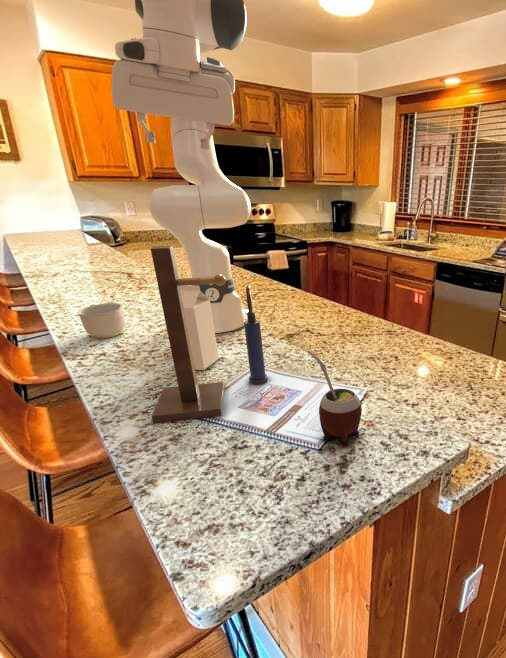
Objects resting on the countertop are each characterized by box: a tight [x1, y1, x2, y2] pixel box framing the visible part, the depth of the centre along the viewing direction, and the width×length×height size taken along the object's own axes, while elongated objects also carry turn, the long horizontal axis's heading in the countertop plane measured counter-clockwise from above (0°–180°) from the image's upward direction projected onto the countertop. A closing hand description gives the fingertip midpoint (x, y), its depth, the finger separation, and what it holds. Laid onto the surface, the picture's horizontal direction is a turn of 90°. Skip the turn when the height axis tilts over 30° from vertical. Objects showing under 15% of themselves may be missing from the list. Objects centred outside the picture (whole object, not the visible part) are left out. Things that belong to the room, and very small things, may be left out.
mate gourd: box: [307, 349, 363, 448], centre depth 70 cm, size 8×8×15 cm
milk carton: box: [180, 285, 219, 371], centre depth 98 cm, size 7×7×19 cm
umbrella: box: [243, 285, 269, 386], centre depth 89 cm, size 6×4×21 cm, turn 13°
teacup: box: [77, 302, 127, 339], centre depth 122 cm, size 14×11×8 cm
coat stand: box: [150, 245, 226, 424], centre depth 78 cm, size 12×16×30 cm
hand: (178, 146), depth 80 cm, fingers open, 8 cm apart
